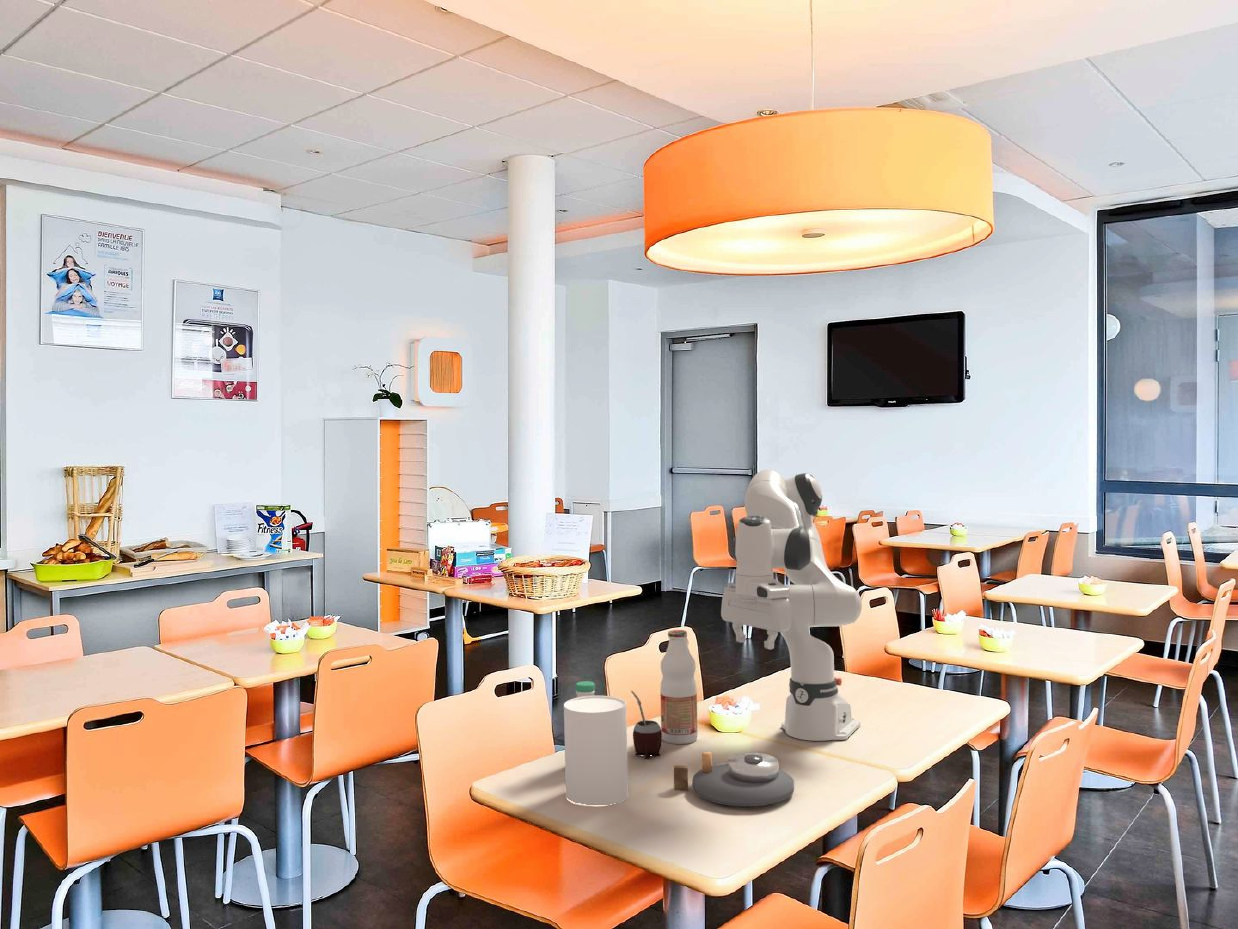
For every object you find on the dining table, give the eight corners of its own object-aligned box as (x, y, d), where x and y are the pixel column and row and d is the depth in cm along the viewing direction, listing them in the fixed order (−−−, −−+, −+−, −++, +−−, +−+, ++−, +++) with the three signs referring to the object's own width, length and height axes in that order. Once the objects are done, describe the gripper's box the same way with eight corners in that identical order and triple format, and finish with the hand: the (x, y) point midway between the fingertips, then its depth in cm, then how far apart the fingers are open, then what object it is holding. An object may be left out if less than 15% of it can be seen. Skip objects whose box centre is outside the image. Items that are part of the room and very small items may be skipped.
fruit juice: (678, 747, 233) (676, 636, 233) (653, 739, 240) (651, 631, 240) (705, 739, 239) (703, 631, 238) (680, 731, 246) (678, 626, 246)
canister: (639, 790, 204) (637, 700, 204) (607, 811, 193) (605, 715, 192) (587, 780, 211) (585, 693, 211) (553, 800, 199) (551, 707, 199)
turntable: (728, 763, 218) (728, 739, 218) (812, 783, 203) (812, 758, 203) (672, 790, 201) (671, 765, 201) (758, 814, 187) (758, 787, 187)
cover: (746, 762, 213) (745, 746, 213) (788, 773, 206) (787, 756, 206) (719, 776, 205) (718, 759, 205) (761, 787, 198) (761, 769, 198)
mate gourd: (660, 761, 223) (659, 699, 223) (628, 760, 224) (626, 698, 224) (663, 751, 231) (662, 691, 230) (632, 750, 232) (631, 690, 232)
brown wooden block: (688, 788, 205) (687, 765, 205) (687, 790, 203) (687, 768, 203) (674, 787, 205) (674, 765, 205) (674, 790, 204) (673, 767, 204)
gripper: (714, 582, 223) (715, 639, 223) (775, 592, 206) (775, 654, 206) (734, 580, 227) (734, 636, 227) (795, 590, 210) (795, 651, 210)
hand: (754, 645), depth 217 cm, fingers open, 8 cm apart
